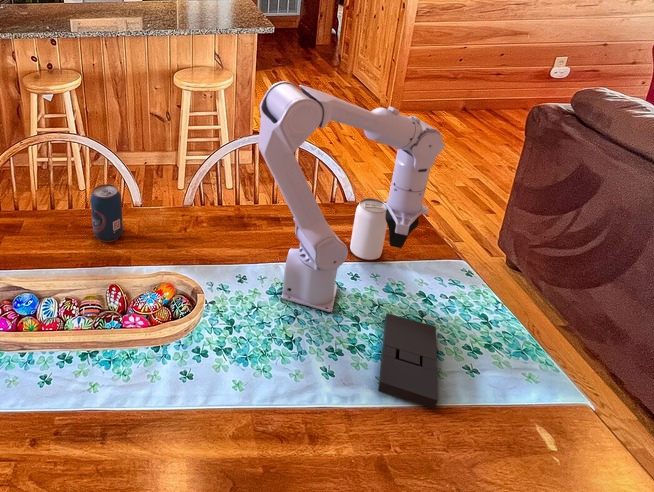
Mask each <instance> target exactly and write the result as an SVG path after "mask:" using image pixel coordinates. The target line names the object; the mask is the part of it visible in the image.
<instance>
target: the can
mask: <svg viewBox="0 0 654 492" xmlns="http://www.w3.org/2000/svg"><path fill="white" fill-rule="evenodd" d="M386 208H387V207H386V202H384V200H381V199H378V198H375V197H374V198H372V197H366V198H362V199H361V200H360V201H359V204H358V205H357V206H356V210H355V214H354V220H353V225H352V232H351V237H350V244H349V249H350V251H351V253H352V254H353V255H354V256H355V257H357V258H359V259H361V260H365V261H374V260H377V259H379V258H380V257H381V256H382V255H383V254H382V253H383V249H384V244H385V240H386V239H385V238H386V234H387V229H388V224H387V222H386V219H385V215H386Z"/></svg>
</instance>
